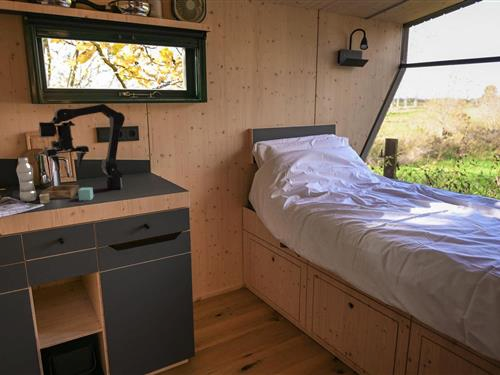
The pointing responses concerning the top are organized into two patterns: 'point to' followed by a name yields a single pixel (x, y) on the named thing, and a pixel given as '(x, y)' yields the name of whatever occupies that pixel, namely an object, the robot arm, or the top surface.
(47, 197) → the birch cube
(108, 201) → the top surface
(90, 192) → the teal block
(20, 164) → the plastic bottle
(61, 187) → the serving box
